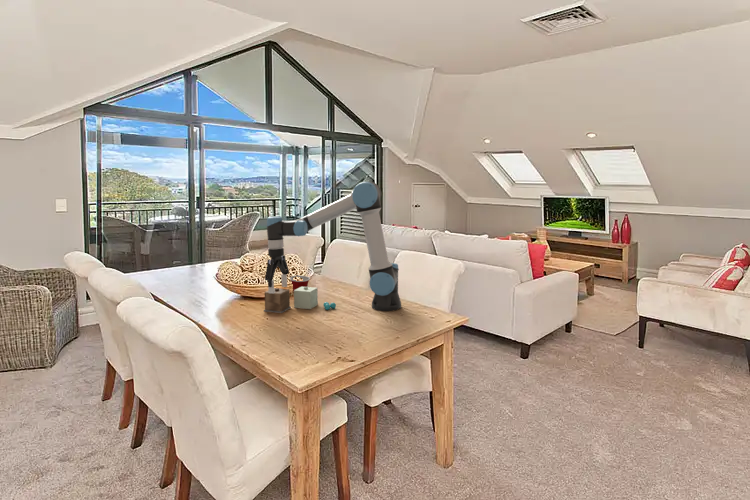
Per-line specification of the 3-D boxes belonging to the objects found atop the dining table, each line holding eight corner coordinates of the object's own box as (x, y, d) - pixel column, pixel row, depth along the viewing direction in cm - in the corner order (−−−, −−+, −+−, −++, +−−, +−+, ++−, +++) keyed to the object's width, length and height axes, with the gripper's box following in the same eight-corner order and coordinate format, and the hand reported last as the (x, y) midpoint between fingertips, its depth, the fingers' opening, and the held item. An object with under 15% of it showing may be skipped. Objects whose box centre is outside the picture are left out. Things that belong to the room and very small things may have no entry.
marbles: (336, 307, 242) (336, 302, 242) (332, 311, 237) (332, 305, 236) (304, 304, 247) (304, 299, 247) (299, 308, 242) (299, 302, 241)
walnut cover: (289, 306, 242) (289, 287, 240) (281, 311, 233) (280, 291, 232) (273, 305, 244) (273, 286, 243) (265, 309, 236) (264, 290, 234)
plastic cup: (296, 302, 252) (296, 280, 250) (286, 298, 260) (286, 277, 258) (314, 299, 258) (313, 277, 257) (304, 295, 267) (303, 274, 265)
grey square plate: (291, 307, 242) (291, 306, 242) (281, 313, 233) (281, 311, 233) (273, 305, 245) (273, 304, 245) (263, 311, 236) (263, 310, 236)
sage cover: (317, 304, 248) (317, 285, 247) (310, 309, 240) (310, 289, 238) (301, 303, 251) (301, 284, 249) (294, 307, 242) (293, 288, 241)
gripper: (281, 244, 247) (283, 284, 250) (255, 251, 223) (258, 295, 227) (294, 244, 245) (296, 284, 248) (270, 252, 221) (272, 296, 224)
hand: (278, 290), depth 237 cm, fingers open, 13 cm apart
